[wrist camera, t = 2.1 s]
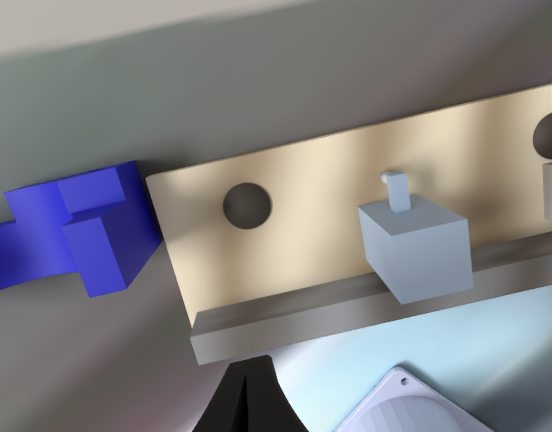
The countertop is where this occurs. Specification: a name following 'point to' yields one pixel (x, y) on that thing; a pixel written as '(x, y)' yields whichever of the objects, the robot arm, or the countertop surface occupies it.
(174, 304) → the countertop surface
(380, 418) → the robot arm
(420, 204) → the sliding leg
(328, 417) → the countertop surface
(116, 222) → the cable clip
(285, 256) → the board
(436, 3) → the countertop surface
